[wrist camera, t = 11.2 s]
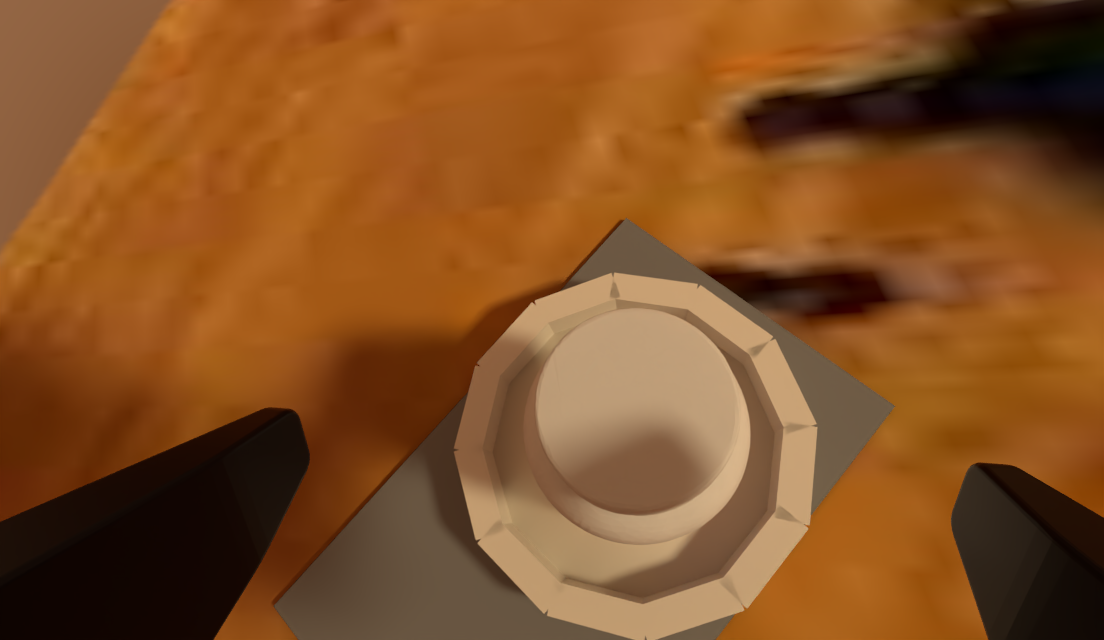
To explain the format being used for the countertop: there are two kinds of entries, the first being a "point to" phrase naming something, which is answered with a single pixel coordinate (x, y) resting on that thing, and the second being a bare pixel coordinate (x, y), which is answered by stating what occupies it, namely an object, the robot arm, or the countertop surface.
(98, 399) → the countertop surface
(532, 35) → the countertop surface
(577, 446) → the pill bottle
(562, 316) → the dish
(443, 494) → the placemat
